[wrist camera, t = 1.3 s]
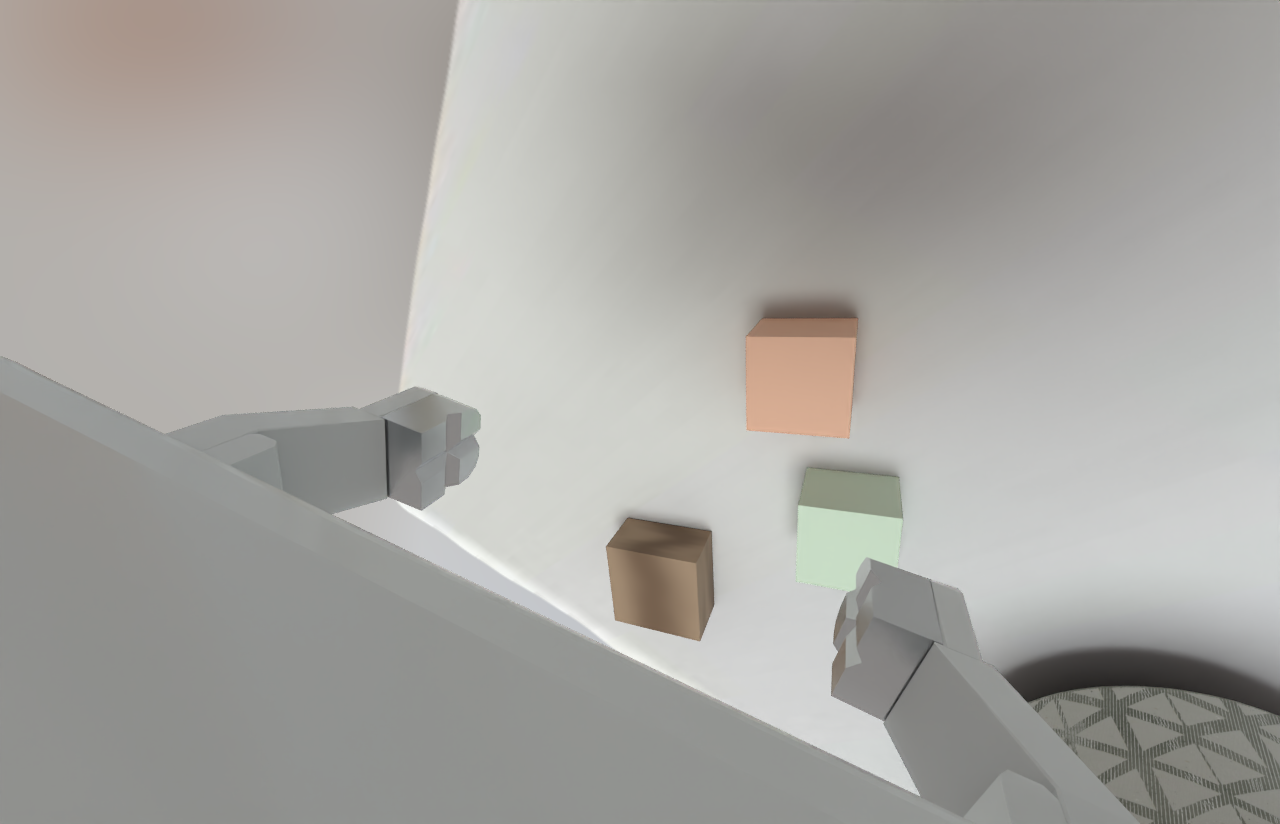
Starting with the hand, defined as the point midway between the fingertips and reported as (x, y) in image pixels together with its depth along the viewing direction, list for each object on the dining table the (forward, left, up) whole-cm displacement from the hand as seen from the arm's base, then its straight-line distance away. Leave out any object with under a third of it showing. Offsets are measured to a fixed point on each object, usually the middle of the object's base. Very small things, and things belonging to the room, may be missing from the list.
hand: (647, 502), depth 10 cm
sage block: (-4, +14, -24) cm, 28 cm away
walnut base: (+9, +21, -24) cm, 33 cm away
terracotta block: (-1, +4, -24) cm, 24 cm away
